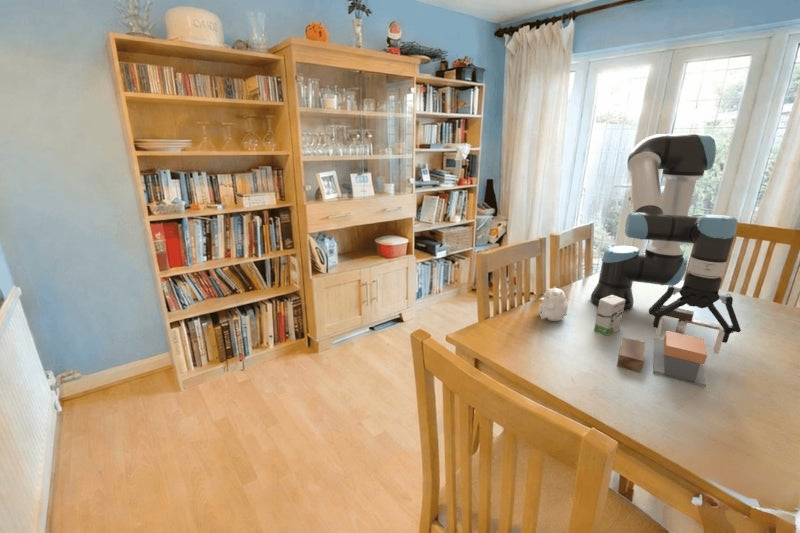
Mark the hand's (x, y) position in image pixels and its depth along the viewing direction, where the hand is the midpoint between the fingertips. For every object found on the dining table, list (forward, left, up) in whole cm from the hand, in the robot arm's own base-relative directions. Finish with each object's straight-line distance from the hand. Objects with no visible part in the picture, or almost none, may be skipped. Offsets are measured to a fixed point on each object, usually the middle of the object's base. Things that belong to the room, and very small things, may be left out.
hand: (685, 344), depth 106 cm
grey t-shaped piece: (+2, +15, -7) cm, 17 cm away
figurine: (-38, +14, -9) cm, 42 cm away
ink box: (-20, +15, -9) cm, 27 cm away
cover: (0, 0, -2) cm, 2 cm away
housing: (0, +6, -8) cm, 10 cm away
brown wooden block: (-12, -2, -8) cm, 15 cm away
